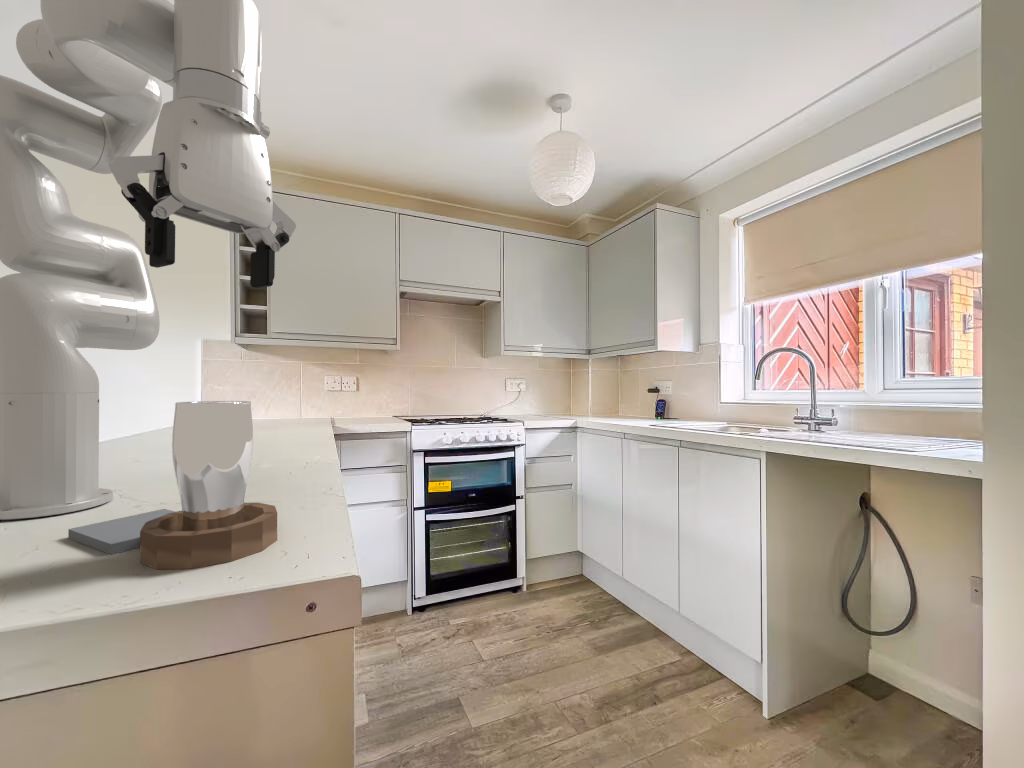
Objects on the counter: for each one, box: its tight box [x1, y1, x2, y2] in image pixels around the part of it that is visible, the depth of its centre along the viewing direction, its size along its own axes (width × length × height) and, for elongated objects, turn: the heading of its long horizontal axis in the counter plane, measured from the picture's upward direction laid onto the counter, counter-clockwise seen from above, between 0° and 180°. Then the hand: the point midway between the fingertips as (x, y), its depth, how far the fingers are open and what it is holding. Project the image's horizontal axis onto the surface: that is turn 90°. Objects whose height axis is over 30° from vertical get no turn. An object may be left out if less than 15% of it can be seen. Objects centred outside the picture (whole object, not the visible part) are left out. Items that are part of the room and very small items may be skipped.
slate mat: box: [67, 508, 176, 555], centre depth 50 cm, size 10×9×1 cm
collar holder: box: [139, 502, 278, 570], centre depth 46 cm, size 11×11×3 cm
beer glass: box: [171, 400, 254, 531], centre depth 46 cm, size 7×7×15 cm
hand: (216, 277), depth 46 cm, fingers open, 9 cm apart
